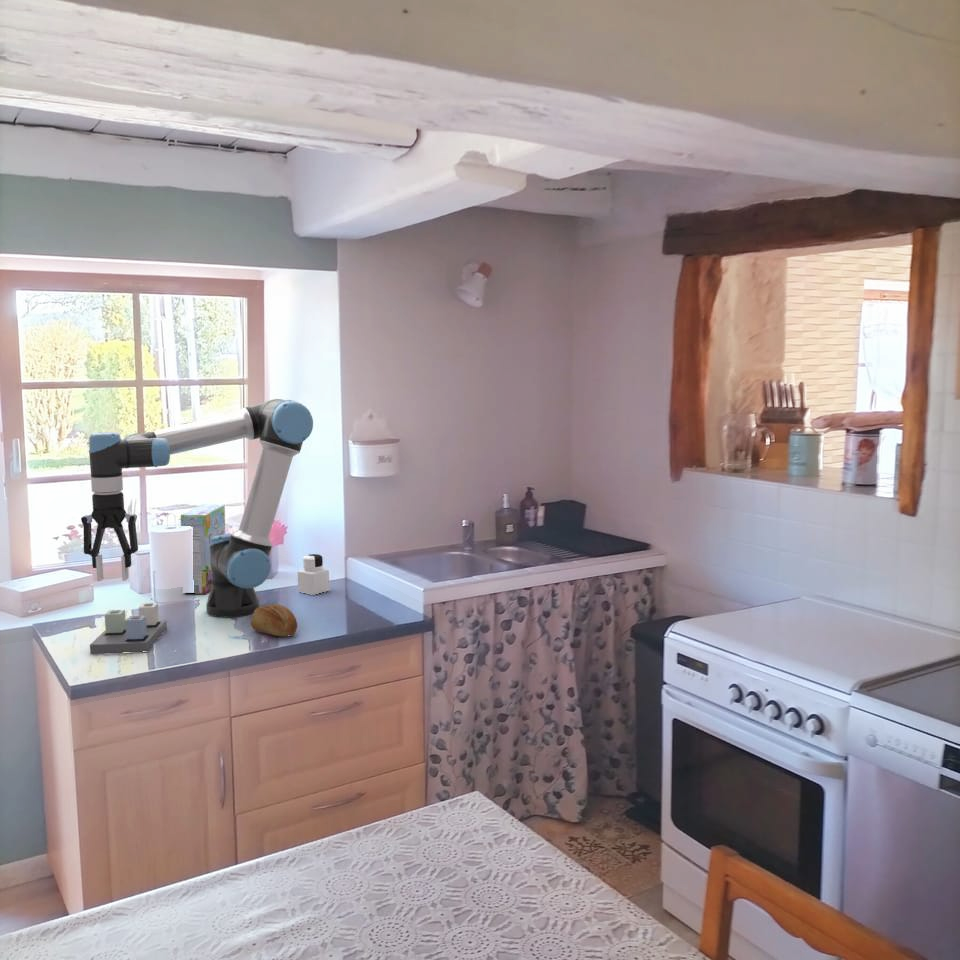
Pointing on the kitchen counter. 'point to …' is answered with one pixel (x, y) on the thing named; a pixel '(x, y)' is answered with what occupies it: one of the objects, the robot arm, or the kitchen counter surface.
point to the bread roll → (274, 620)
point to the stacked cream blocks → (313, 575)
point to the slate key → (136, 627)
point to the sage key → (115, 621)
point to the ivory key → (149, 612)
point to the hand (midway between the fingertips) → (112, 579)
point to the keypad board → (127, 640)
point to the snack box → (203, 541)
